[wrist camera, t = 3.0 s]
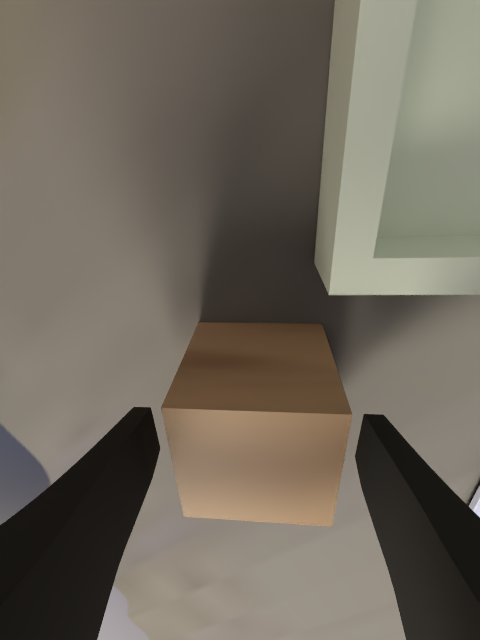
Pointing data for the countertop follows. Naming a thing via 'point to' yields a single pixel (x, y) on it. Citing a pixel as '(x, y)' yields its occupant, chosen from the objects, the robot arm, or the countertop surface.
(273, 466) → the walnut block
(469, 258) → the pale green tray
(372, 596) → the countertop surface
